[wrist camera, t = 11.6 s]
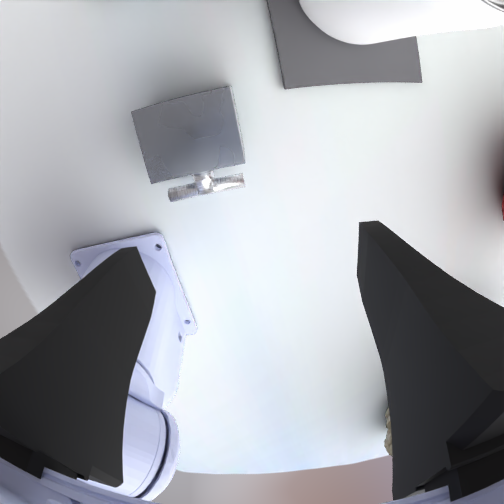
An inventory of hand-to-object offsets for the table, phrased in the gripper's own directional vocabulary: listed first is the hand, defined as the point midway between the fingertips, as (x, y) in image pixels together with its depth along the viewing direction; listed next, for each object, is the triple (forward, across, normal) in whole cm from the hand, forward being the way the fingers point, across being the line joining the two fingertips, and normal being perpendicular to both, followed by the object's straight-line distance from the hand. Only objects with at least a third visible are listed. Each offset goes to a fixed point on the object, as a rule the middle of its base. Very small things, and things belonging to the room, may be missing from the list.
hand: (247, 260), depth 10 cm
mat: (+12, -6, -8) cm, 16 cm away
